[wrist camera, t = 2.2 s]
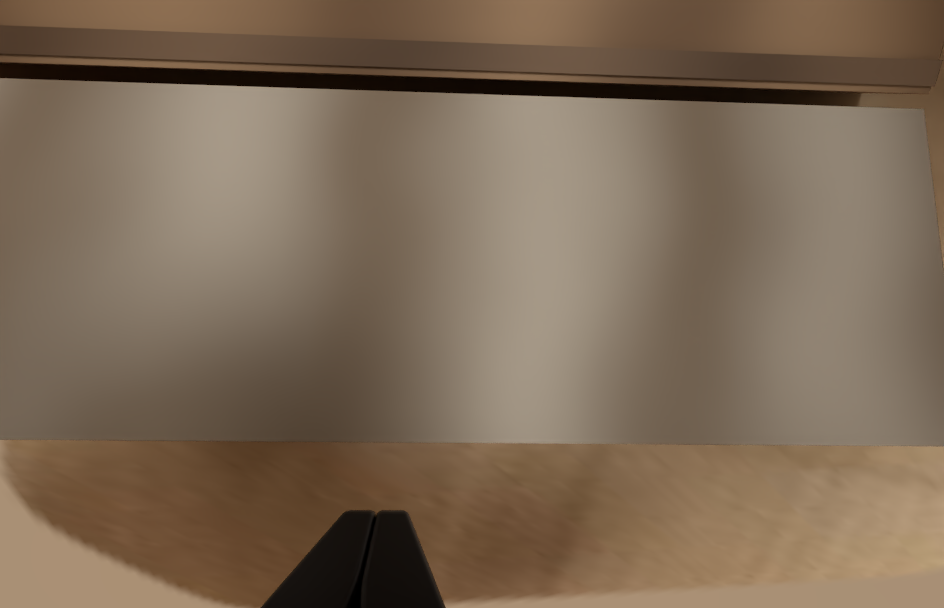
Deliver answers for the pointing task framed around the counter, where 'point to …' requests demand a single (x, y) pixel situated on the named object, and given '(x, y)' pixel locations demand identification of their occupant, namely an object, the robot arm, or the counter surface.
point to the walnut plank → (502, 40)
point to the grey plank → (464, 268)
